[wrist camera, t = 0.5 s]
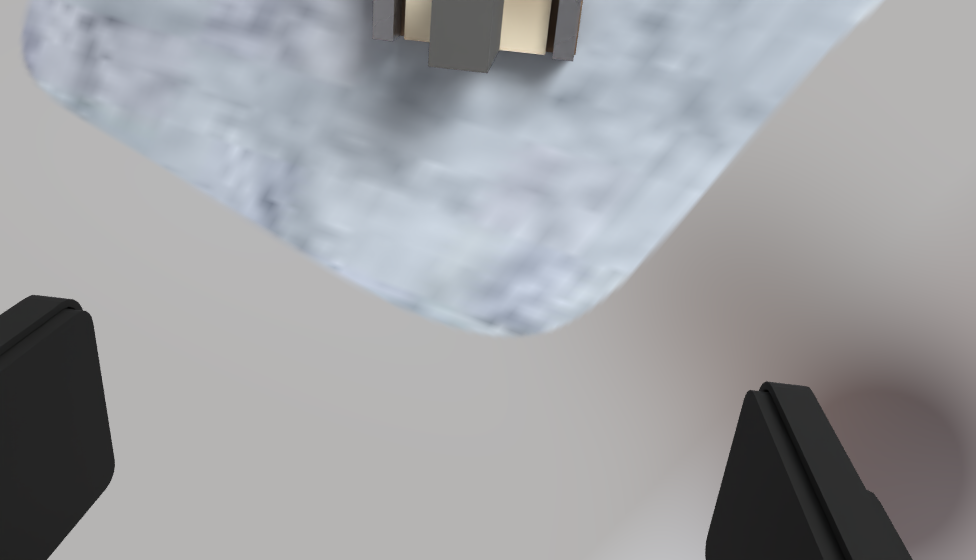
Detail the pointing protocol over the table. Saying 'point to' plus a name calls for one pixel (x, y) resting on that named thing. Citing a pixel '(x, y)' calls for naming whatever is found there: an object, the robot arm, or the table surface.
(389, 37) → the board
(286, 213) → the table surface
